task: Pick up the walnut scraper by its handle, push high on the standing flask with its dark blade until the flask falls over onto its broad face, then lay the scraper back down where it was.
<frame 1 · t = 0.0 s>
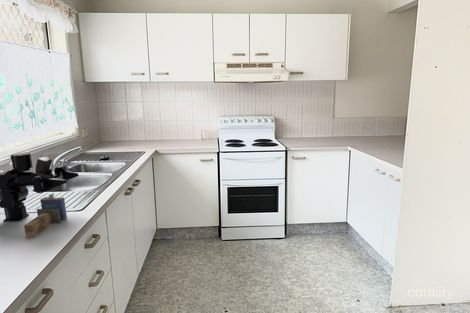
hand: (72, 177, 125), 17 cm above the counter, tool horizontal, fingers open, 9 cm apart
flask: (55, 220, 127), on the counter
scraper: (36, 233, 115), on the counter
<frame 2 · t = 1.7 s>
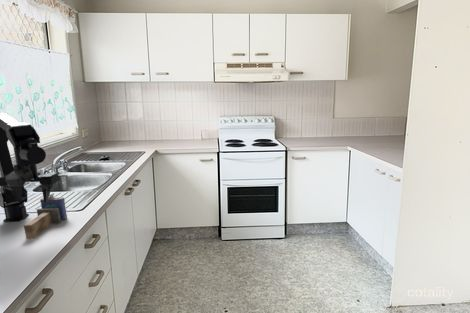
hand: (33, 202, 114), 11 cm above the counter, tool pointing down, fingers open, 9 cm apart
nothing on the counter moved.
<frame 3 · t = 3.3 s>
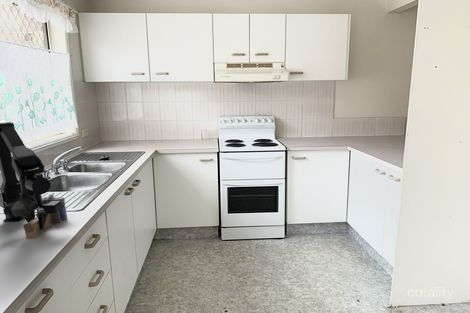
hand: (37, 229, 116), 1 cm above the counter, tool pointing down, fingers closed on scraper, 2 cm apart
scraper: (36, 233, 115), on the counter, touching gripper
everything else where it was.
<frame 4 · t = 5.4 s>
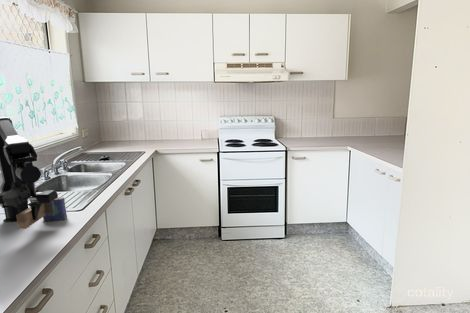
hand: (31, 219, 113), 6 cm above the counter, tool pointing down, fingers closed on scraper, 2 cm apart
scraper: (29, 223, 112), point 5 cm above the counter, touching gripper
everything else where it was.
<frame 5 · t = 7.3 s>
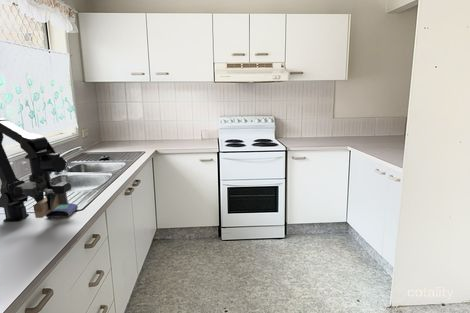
hand: (46, 209, 122), 6 cm above the counter, tool pointing down, fingers closed on scraper, 2 cm apart
flask: (56, 214, 128), point 1 cm above the counter
scraper: (45, 213, 121), point 5 cm above the counter, touching gripper
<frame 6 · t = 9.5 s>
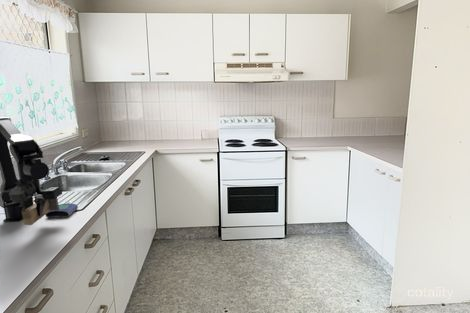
hand: (36, 216, 115), 6 cm above the counter, tool pointing down, fingers closed on scraper, 2 cm apart
scraper: (34, 219, 114), point 5 cm above the counter, touching gripper
everything else where it was.
when the fingers open (2 cm above the counter, at t = 11.6 s): scraper stays where it is, on the counter.
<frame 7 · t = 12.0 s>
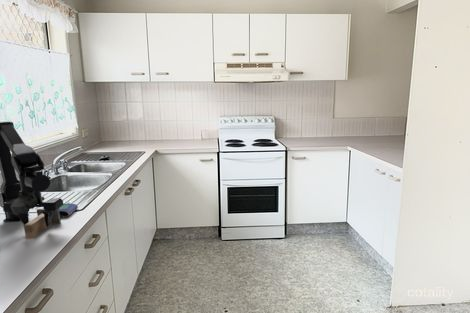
hand: (37, 226, 116), 2 cm above the counter, tool pointing down, fingers open, 7 cm apart
scraper: (36, 233, 115), on the counter
everything else where it was.
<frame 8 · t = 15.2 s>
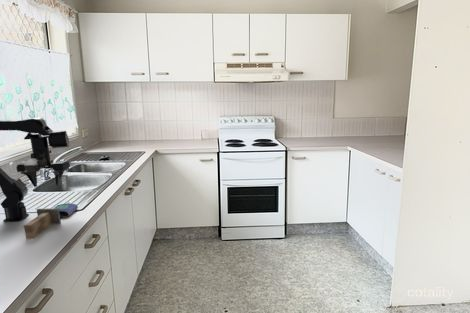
hand: (46, 186, 130), 12 cm above the counter, tool pointing down, fingers open, 9 cm apart
nothing on the counter moved.
at the end: flask tilted 90°; the gripper is holding nothing; scraper inside the target area (0.1 cm from its centre), on the counter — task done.
